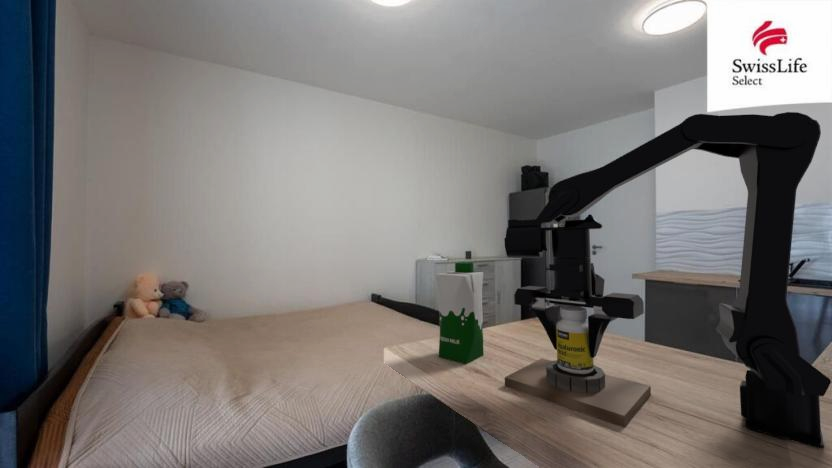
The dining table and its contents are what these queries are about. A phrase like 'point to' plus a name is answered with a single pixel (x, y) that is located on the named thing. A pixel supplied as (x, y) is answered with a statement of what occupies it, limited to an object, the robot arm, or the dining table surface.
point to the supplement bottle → (573, 341)
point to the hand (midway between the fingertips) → (574, 353)
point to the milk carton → (460, 313)
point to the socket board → (585, 403)
